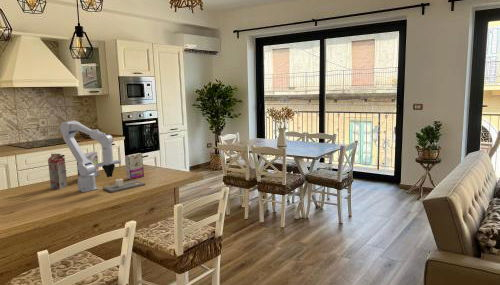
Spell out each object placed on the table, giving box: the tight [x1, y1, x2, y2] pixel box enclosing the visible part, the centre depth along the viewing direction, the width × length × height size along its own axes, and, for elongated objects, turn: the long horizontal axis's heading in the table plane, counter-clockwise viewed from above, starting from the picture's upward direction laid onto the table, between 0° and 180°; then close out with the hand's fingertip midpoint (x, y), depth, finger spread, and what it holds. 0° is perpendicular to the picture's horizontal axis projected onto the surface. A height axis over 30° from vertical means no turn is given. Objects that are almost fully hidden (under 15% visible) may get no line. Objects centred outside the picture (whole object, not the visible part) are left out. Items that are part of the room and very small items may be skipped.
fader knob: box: [115, 178, 124, 187], centre depth 223 cm, size 3×4×4 cm
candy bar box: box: [124, 152, 145, 180], centre depth 249 cm, size 11×5×16 cm, turn 143°
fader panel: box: [102, 179, 146, 194], centre depth 225 cm, size 22×12×1 cm, turn 136°
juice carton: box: [47, 153, 68, 190], centre depth 226 cm, size 7×7×22 cm
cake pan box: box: [76, 151, 100, 179], centre depth 248 cm, size 19×5×18 cm, turn 171°
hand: (109, 176), depth 218 cm, fingers closed
